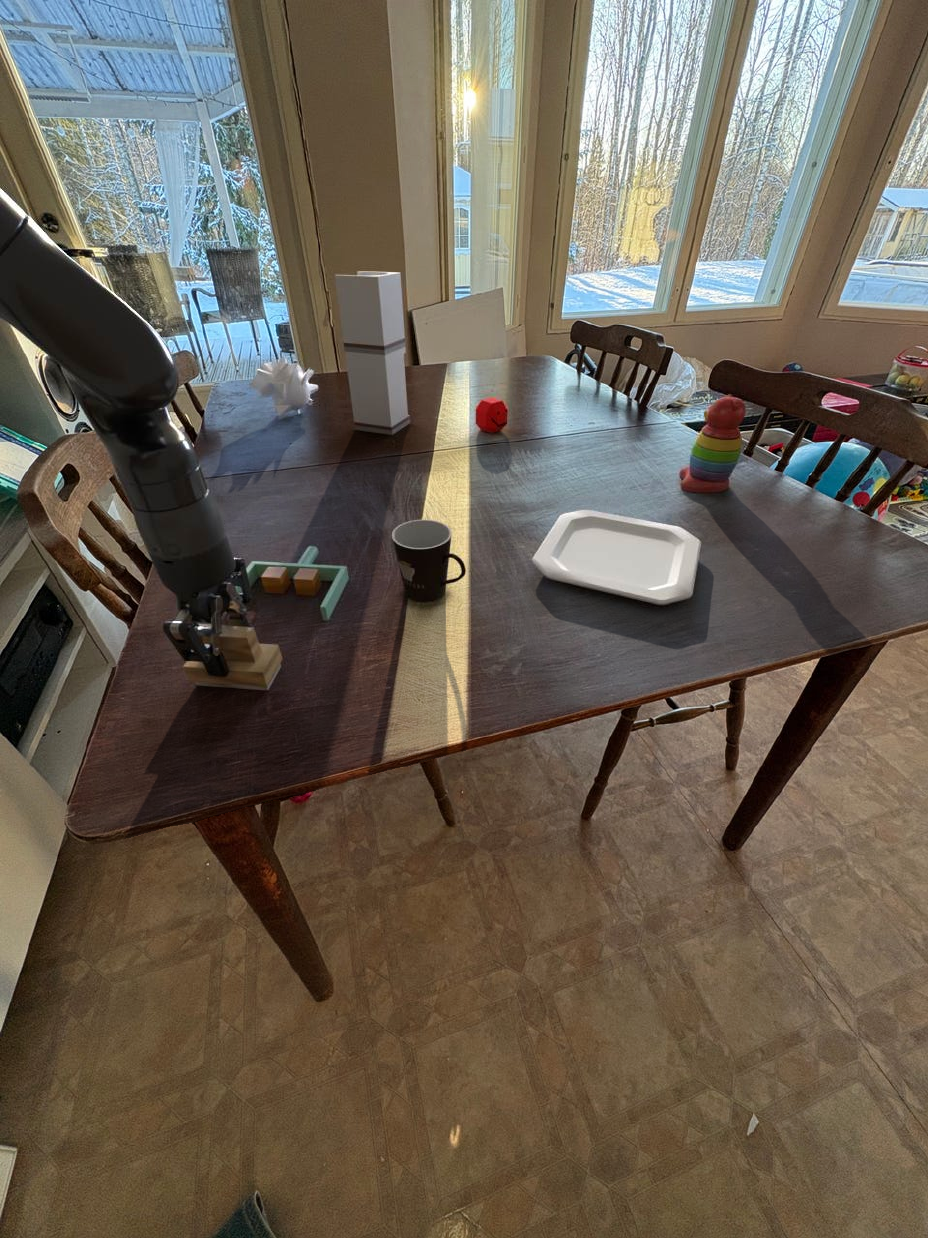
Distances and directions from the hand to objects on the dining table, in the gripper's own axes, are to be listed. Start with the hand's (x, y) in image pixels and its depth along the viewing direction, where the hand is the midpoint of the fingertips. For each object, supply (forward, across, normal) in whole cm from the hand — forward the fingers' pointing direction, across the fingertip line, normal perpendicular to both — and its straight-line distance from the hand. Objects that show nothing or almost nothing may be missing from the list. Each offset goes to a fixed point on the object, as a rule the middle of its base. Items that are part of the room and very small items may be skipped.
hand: (232, 656), depth 63 cm
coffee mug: (+4, -20, +21) cm, 29 cm away
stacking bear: (+4, -66, +74) cm, 100 cm away
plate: (+4, -33, +51) cm, 61 cm away
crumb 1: (+3, -19, -3) cm, 20 cm away
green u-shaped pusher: (+3, -20, 0) cm, 21 cm away
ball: (+4, -97, +26) cm, 100 cm away
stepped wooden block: (+3, 0, 0) cm, 3 cm away
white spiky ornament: (+4, -107, -34) cm, 112 cm away
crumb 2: (+3, -19, +2) cm, 20 cm away
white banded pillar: (+4, -97, -4) cm, 97 cm away
